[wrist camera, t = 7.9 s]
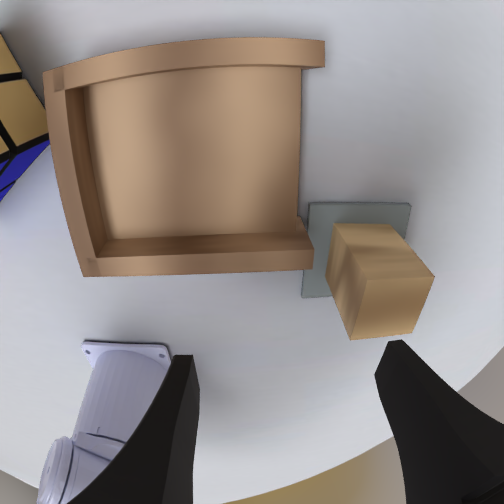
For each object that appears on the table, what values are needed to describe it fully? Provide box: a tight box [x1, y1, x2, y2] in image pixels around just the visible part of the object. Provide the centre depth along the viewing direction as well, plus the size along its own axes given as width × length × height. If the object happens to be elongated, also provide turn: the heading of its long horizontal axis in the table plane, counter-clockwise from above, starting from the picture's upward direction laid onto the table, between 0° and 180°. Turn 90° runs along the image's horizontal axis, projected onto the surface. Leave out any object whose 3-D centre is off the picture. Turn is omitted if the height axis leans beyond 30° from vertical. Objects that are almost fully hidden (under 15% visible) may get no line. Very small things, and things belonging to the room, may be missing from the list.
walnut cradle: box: [43, 37, 325, 277], centre depth 15 cm, size 13×11×4 cm
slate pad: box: [301, 202, 411, 298], centre depth 20 cm, size 7×7×1 cm
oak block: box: [325, 223, 435, 340], centre depth 18 cm, size 4×4×6 cm
